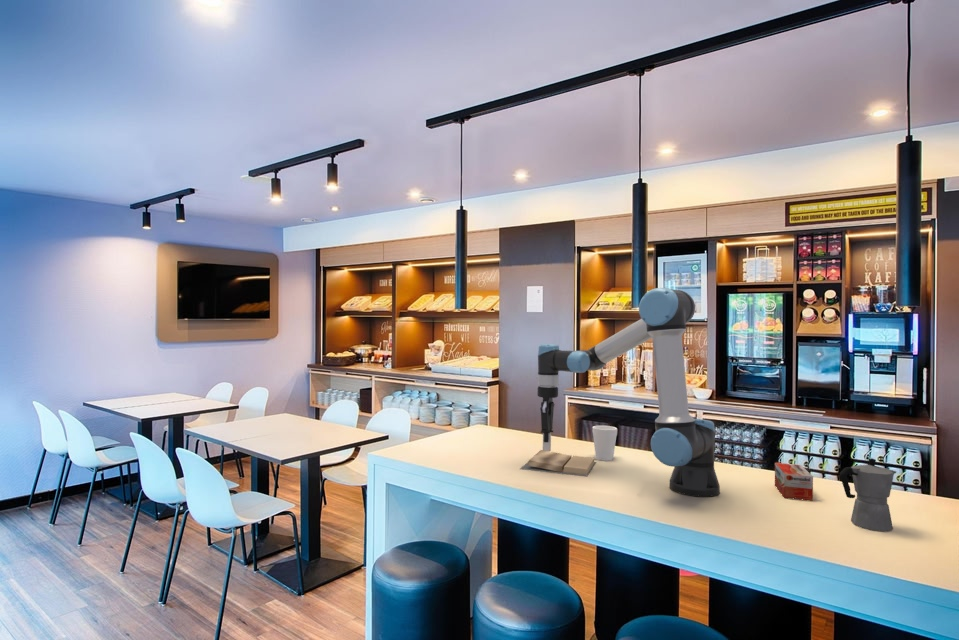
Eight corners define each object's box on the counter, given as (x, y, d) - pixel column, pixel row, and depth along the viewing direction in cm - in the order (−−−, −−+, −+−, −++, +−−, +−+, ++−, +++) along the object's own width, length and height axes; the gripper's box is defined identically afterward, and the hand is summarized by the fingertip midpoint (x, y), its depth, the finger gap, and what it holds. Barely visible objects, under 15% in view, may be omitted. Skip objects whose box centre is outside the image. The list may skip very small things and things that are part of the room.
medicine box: (813, 502, 167) (813, 475, 167) (783, 499, 170) (784, 473, 170) (800, 488, 182) (801, 464, 182) (773, 485, 184) (773, 462, 184)
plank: (571, 460, 209) (571, 455, 208) (561, 472, 192) (562, 466, 192) (540, 454, 213) (541, 449, 213) (528, 465, 196) (529, 460, 196)
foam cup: (617, 464, 208) (618, 430, 208) (592, 463, 209) (593, 429, 209) (615, 459, 217) (615, 426, 217) (591, 457, 218) (592, 425, 219)
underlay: (596, 464, 207) (596, 456, 207) (587, 479, 187) (587, 470, 187) (534, 458, 215) (534, 450, 215) (519, 471, 195) (519, 463, 195)
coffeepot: (881, 519, 152) (881, 454, 152) (909, 532, 143) (910, 463, 143) (827, 519, 151) (828, 454, 151) (852, 532, 142) (853, 462, 142)
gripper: (541, 383, 208) (540, 446, 208) (533, 387, 196) (532, 453, 196) (561, 385, 206) (560, 447, 206) (554, 388, 194) (553, 455, 193)
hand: (546, 450), depth 201 cm, fingers closed
